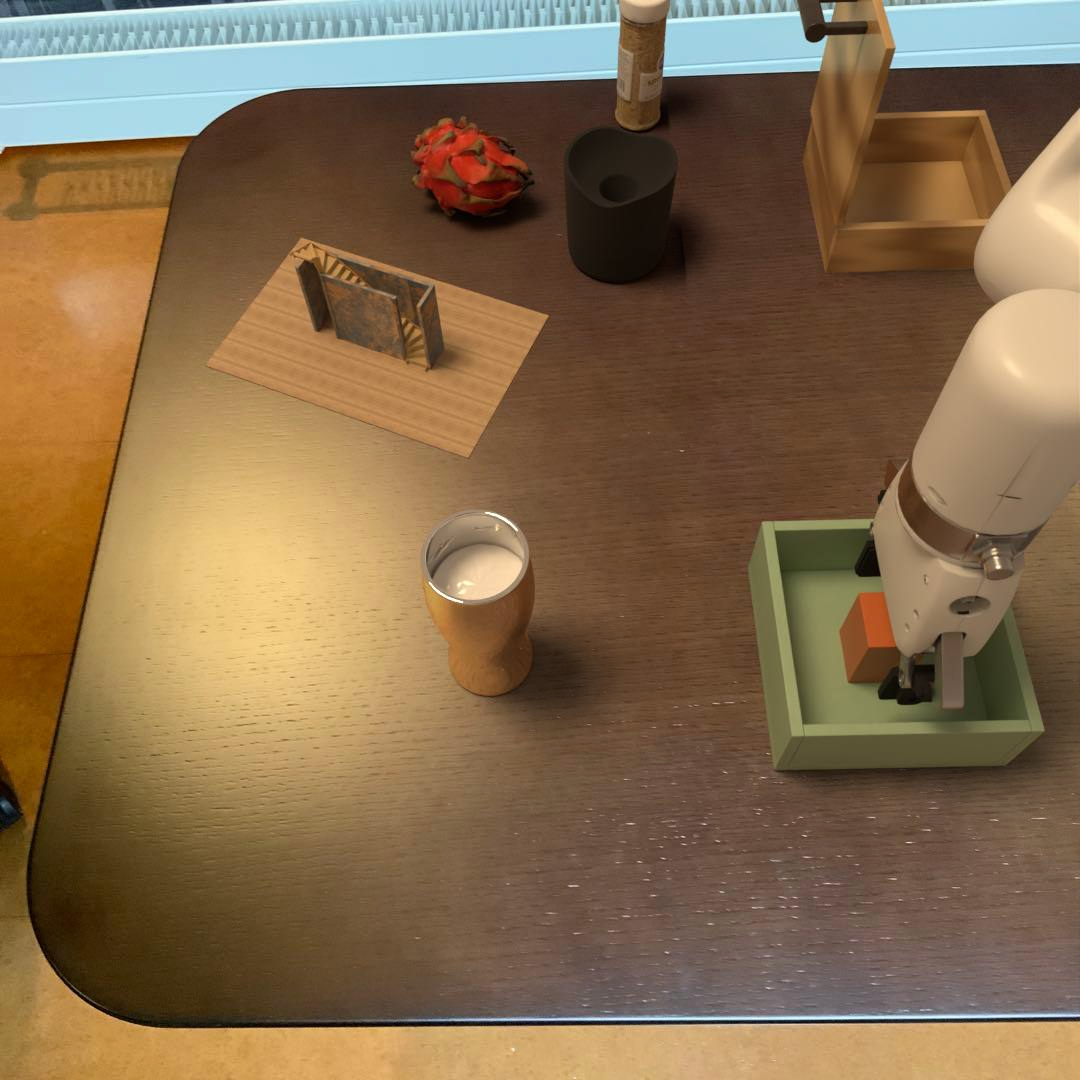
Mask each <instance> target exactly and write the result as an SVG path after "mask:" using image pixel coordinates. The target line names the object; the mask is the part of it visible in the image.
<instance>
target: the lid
mask: <svg viewBox="0 0 1080 1080" xmlns="http://www.w3.org/2000/svg"><path fill="white" fill-rule="evenodd" d="M796 3H797V7H798V11H799V17H800V21H801V25H802V29H803V33H804V34H803V35H804V38H805V40H806V41H807V42H809V43H811V44H815V43H820V42H821V41H822V40H824V38H825V37H826V42H825V46H824V49H823V50H824V51H823V55H822V59H821V63H820V67H819V70H818V71H819V72H818V76H817V80H816V84H815V88H814V93H813V97H812V101H811V106H810V110H809V111H810V117H811V122H812V121H813V126H814V130H815V135H816V139H817V144H818V149H819V153H820V158H821V162H822V167H823V172H824V176H825V181H826V185H827V190H828V195H829V199H830V204H831V208H832V213H833V218H834V222H835V226H843V225H844V221H845V218H846V214H847V211H848V208H849V204H850V201H851V198H852V194H853V191H854V187H855V184H856V181H857V177H858V174H859V171H860V167H861V164H862V160H863V157H864V154H865V150H866V147H867V144H868V140H869V137H870V133H871V130H872V127H873V123H874V120H875V117H876V113H878V109H879V107H880V102H881V100H882V97H883V93H884V90H885V85H886V83H887V80H888V76H889V74H890V73H889V72H890V69H891V65H892V62H893V59H894V55H895V52H896V49H897V47H896V44H895V40H894V37H893V33H892V30H891V27H890V23H889V20H888V16H887V12H886V8H885V6H884V2H883V0H796ZM833 3H834V7H833V10H832V14H831V15H832V16H831V20H830V21H826V19H825V15H824V12H823V7H822V4H833Z"/></svg>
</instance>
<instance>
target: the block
mask: <svg viewBox="0 0 1080 1080" xmlns="http://www.w3.org/2000/svg"><path fill="white" fill-rule="evenodd" d="M839 633H840V639H841V645H842V651H843V657H844V663H845V669H846V675H847V681H848V683H860V682H883V681H884V679H885V678H886V676H887V675H888V673H889V672H890V670H891V669H892V668H893V667H896V666H899V665H900V658H901V652H900V650H899V649H898V648H897V645H896V643H895V640H894V636H893V632H892V627H891V623H890V618H889V613H888V609H887V604H886V599H885V594H884V592H871V593H859V594H858V596H857V598H856V600H855V602H854V604H853V606H852V607H851V609H850V611H849V613H848V615H847V617H846V619H845V621H844V623H843V625H842V627H841V629H840V630H839ZM924 655H925V654H917V657H916V664H915V665H918V663H919V662H920V660H921V659H922V658H923V656H924Z"/></svg>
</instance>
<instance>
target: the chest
mask: <svg viewBox="0 0 1080 1080" xmlns="http://www.w3.org/2000/svg"><path fill="white" fill-rule="evenodd" d="M802 164H803V169H804V174H805V179H806V183H807V189H808V193H809V198H810V203H811V208H812V213H813V217H814V223H815V228H816V232H817V236H818V242H819V248H820V252H821V257H822V261H823V262H822V263H823V267H824V271H825V273H826V274H836V273H837V274H841V273H873V272H908V271H909V272H910V271H912V272H913V271H940V270H941V271H942V270H943V271H944V270H946V271H949V270H974V254H975V249H976V246H977V242H978V240H979V238H980V236H981V234H982V231H983V229H984V227H985V225H986V224H987V222H988V220H989V219H990V217H991V216H992V214H993V213H994V211H995V210H996V209H997V207H998V206H999V204H1000V203H1001V202H1002V200H1003V199H1004V197H1005V196H1006V195H1007V193H1008V192H1009V191H1010V190H1011V188H1012V187H1013V186H1012V183H1011V181H1010V178H1009V174H1008V172H1007V169H1006V166H1005V163H1004V160H1003V156H1002V154H1001V152H1000V149H999V146H998V142H997V140H996V136H995V134H994V131H993V128H992V126H991V122H990V120H989V117H988V113H987V111H986V109H972V110H942V111H941V110H940V111H939V110H938V111H935V110H934V111H909V112H908V111H907V112H906V111H904V112H877V113H876V117H875V120H874V123H873V127H872V130H871V133H870V137H869V140H868V144H867V147H866V150H865V154H864V157H863V160H862V164H861V167H860V171H859V174H858V177H857V181H856V184H855V187H854V191H853V194H852V198H851V201H850V204H849V208H848V211H847V214H846V218H845V221H844V225H843V226H835V222H834V218H833V213H832V208H831V204H830V199H829V195H828V190H827V185H826V181H825V176H824V172H823V167H822V162H821V158H820V153H819V149H818V144H817V139H816V135H815V130H814V126H813V121H812V120H811V122H810V127H809V131H808V135H807V139H806V145H805V148H804V152H803V156H802Z"/></svg>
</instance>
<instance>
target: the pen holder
mask: <svg viewBox="0 0 1080 1080" xmlns="http://www.w3.org/2000/svg"><path fill="white" fill-rule="evenodd" d="M678 165H679V160H678V154H677V151H676V149H675V147H674V146H673V144H672V143H671V142H670V140H668V139H667V138H665V137H663V136H661V135H657V134H650V133H649V134H648V133H638V132H635V131H631V130H628V129H625V128H620V127H617V126H613V125H597V126H593V127H591V128H588V129H585V130H583V131H582V132H581V133H579V134H578V135H577V136H575V137H574V138H573V139H572V141H571V142H570V143H568V146H567V147H566V149H565V152H564V155H563V176H564V193H565V195H564V196H565V214H566V215H565V216H566V231H567V232H566V233H567V242H568V243H567V245H568V252H569V255H570V258H571V260H572V261H573V263H574V264H575V265H576V267H577V268H578V269H580V270H581V271H582V272H583V273H584V274H586V275H588V276H589V277H591V278H594V279H596V280H600V281H602V282H607V283H626V282H630V281H634V280H637V279H640V278H642V277H644V276H645V275H647V274H648V273H650V272H651V271H653V270H654V269H655V268H656V267H657V265H659V263H660V261H661V260H662V257H663V255H664V251H665V245H666V240H667V235H668V229H669V223H670V218H671V217H670V216H671V210H672V205H673V204H672V203H673V199H674V198H673V197H674V192H675V184H676V179H677V171H678Z"/></svg>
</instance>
